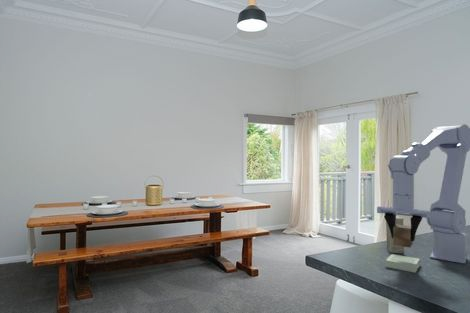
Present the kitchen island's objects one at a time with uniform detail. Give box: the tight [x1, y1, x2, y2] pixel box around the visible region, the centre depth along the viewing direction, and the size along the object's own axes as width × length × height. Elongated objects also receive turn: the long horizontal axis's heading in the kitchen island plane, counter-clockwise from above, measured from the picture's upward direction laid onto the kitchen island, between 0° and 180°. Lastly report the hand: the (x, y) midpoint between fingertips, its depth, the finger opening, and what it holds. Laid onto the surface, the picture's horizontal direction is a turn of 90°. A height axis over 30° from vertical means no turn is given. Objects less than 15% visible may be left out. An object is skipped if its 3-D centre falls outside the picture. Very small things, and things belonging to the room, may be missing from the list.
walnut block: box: [393, 224, 414, 248], centre depth 99 cm, size 5×5×6 cm
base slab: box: [385, 253, 421, 273], centre depth 99 cm, size 8×8×2 cm
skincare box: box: [385, 215, 405, 254], centre depth 115 cm, size 6×4×12 cm
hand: (402, 239), depth 99 cm, fingers closed on walnut block, 5 cm apart
